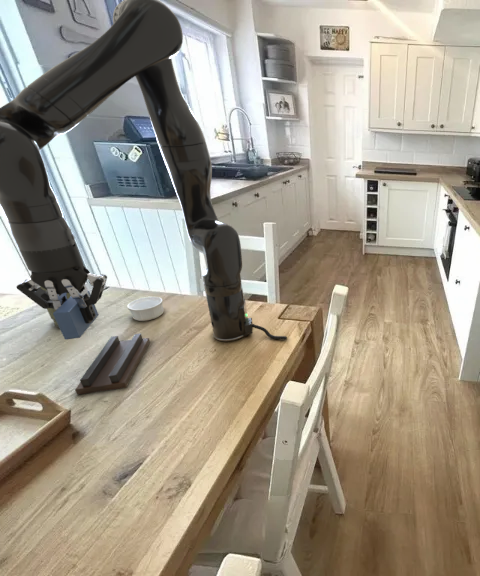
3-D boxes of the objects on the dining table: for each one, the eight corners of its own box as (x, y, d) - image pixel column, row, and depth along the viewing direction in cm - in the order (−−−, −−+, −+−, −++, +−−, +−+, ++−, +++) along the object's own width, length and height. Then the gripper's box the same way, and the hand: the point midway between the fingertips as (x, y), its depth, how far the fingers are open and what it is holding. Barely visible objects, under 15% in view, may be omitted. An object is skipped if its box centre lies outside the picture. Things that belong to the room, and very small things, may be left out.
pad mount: (150, 342, 89) (146, 331, 87) (126, 387, 73) (121, 375, 72) (110, 346, 86) (106, 335, 84) (77, 394, 71) (71, 382, 69)
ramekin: (123, 319, 98) (119, 307, 96) (148, 305, 105) (145, 294, 104) (148, 324, 96) (144, 311, 94) (172, 310, 104) (169, 298, 102)
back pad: (98, 314, 71) (89, 290, 69) (80, 337, 64) (68, 311, 61) (85, 316, 71) (75, 291, 68) (64, 339, 63) (52, 313, 60)
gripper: (-19, 252, 54) (27, 337, 61) (84, 247, 58) (115, 327, 66) (10, 238, 60) (48, 317, 68) (101, 234, 64) (127, 309, 72)
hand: (81, 322), depth 67 cm, fingers closed on back pad, 2 cm apart
